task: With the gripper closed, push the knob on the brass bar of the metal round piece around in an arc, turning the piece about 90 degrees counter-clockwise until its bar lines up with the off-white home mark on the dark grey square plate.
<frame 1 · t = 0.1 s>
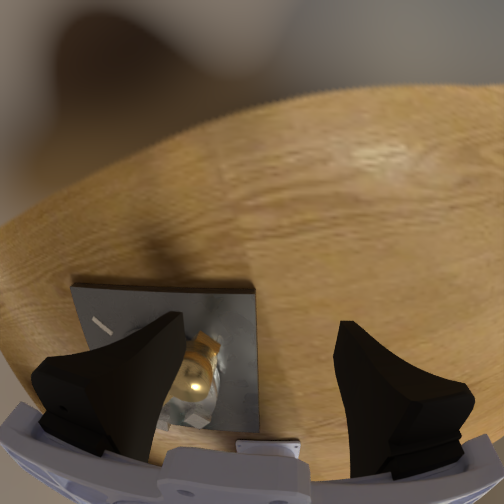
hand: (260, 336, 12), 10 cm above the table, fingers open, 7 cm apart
dark grey square plate: (168, 366, 26), on the table
metal round piece: (162, 389, 21), point 5 cm above the table, hinge at 0.0°
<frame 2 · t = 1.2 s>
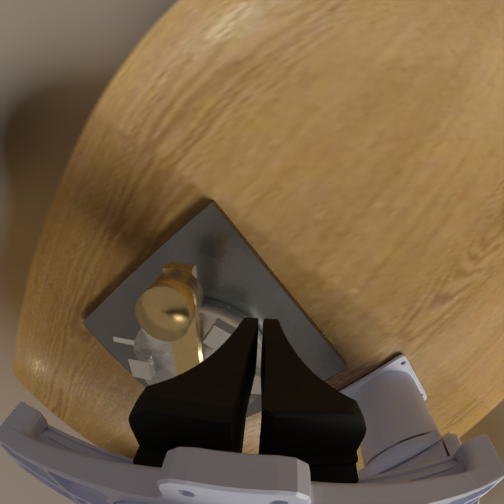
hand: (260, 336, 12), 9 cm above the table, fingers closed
dark grey square plate: (205, 345, 24), on the table
metal round piece: (190, 362, 19), point 5 cm above the table, hinge at 0.0°
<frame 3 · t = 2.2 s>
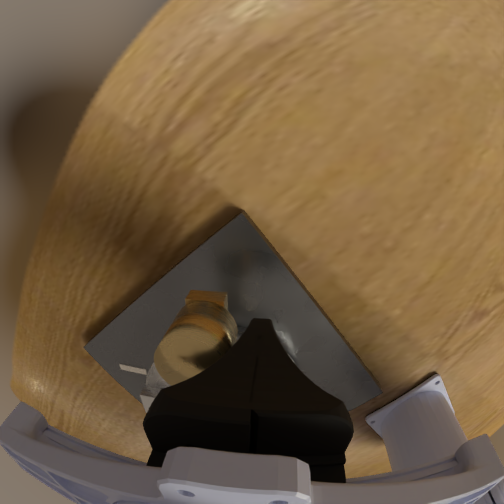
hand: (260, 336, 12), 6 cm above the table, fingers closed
dark grey square plate: (228, 374, 21), on the table
metal round piece: (215, 401, 15), point 5 cm above the table, hinge at 0.3°, touching gripper
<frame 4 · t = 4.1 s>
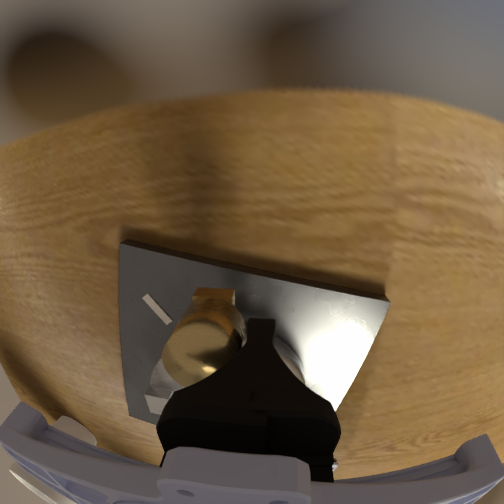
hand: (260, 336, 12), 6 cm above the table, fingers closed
dark grey square plate: (233, 373, 21), on the table
metal round piece: (222, 400, 15), point 5 cm above the table, hinge at 51.1°, touching gripper
foam cup: (78, 430, 27), on the table
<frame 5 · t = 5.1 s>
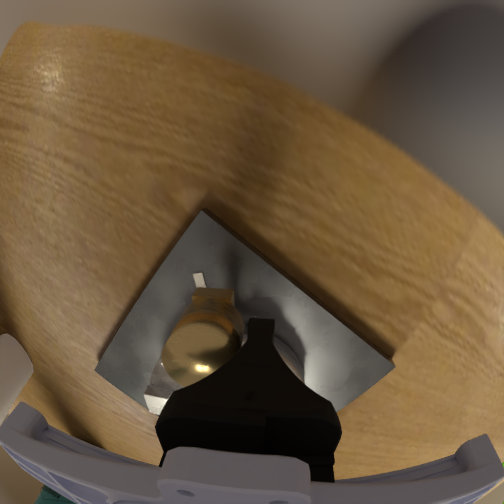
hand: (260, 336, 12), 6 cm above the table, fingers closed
dark grey square plate: (232, 373, 21), on the table
metal round piece: (221, 400, 15), point 5 cm above the table, hinge at 78.5°, touching gripper
beverage bottle: (92, 446, 29), on the table
foam cup: (17, 353, 24), on the table
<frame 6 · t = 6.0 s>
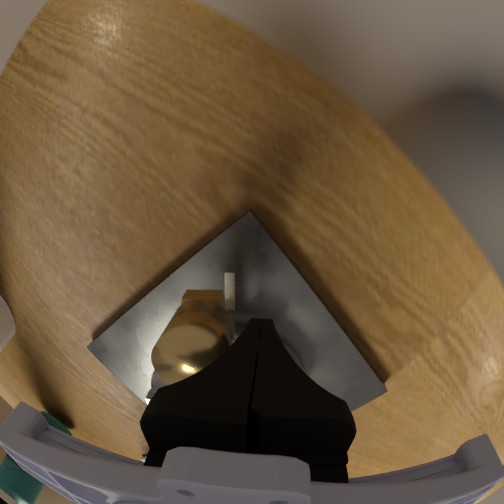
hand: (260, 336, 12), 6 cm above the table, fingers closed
dark grey square plate: (233, 374, 21), on the table
metal round piece: (220, 401, 15), point 5 cm above the table, hinge at 94.2°, touching gripper
beverage bottle: (60, 418, 27), on the table
foam cup: (1, 312, 22), on the table
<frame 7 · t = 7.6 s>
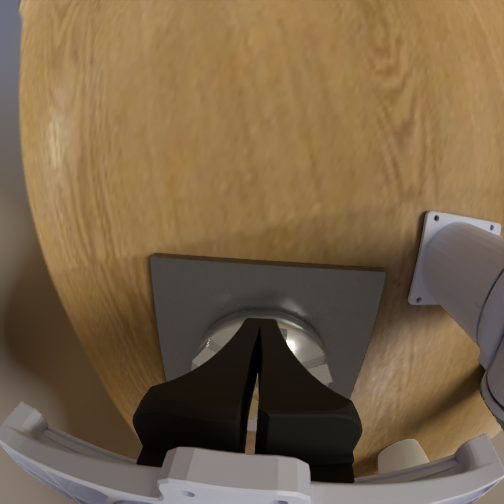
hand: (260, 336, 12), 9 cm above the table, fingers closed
dark grey square plate: (261, 356, 24), on the table
metal round piece: (242, 406, 20), point 5 cm above the table, hinge at 94.2°
foam cup: (397, 449, 29), on the table
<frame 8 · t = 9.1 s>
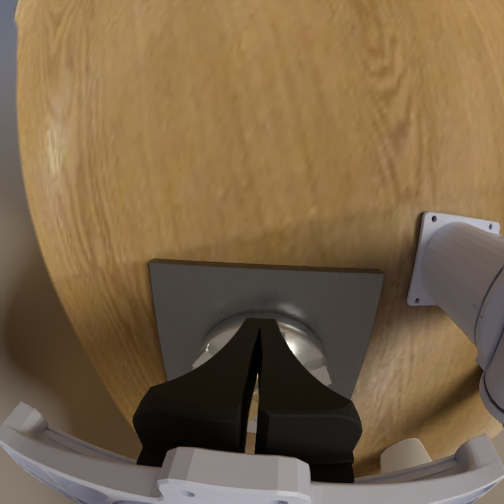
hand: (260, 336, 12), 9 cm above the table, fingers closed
dark grey square plate: (262, 358, 24), on the table
metal round piece: (243, 408, 20), point 5 cm above the table, hinge at 94.2°
foam cup: (400, 449, 29), on the table
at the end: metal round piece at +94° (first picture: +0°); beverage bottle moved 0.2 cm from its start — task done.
